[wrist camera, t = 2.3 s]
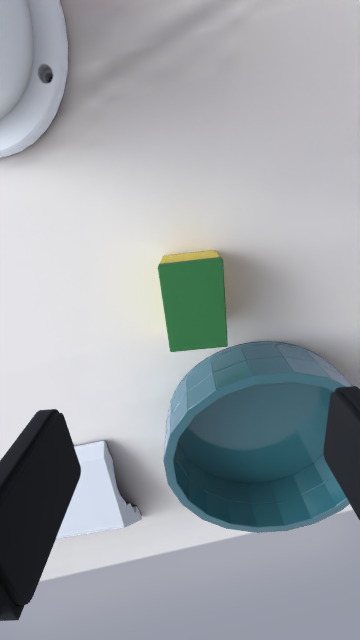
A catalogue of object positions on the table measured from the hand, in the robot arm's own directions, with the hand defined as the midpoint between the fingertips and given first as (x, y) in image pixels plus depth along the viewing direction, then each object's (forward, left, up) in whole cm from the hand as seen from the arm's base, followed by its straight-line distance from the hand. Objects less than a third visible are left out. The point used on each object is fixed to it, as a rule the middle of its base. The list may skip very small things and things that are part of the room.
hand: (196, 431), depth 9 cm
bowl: (+13, +5, -14) cm, 19 cm away
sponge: (-1, 0, -14) cm, 14 cm away
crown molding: (+22, -24, -14) cm, 35 cm away
